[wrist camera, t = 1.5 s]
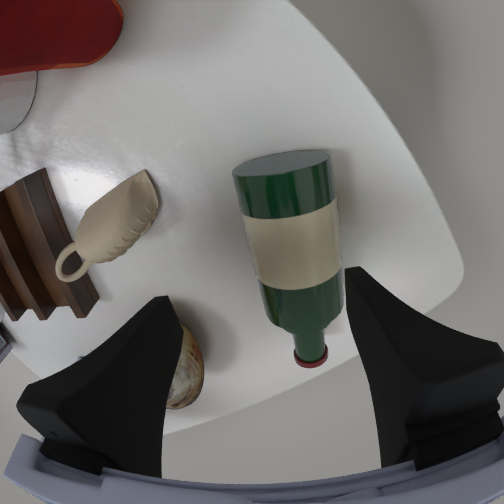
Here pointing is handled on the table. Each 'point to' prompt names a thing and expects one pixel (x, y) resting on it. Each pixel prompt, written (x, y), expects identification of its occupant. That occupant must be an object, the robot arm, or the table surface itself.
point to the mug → (15, 98)
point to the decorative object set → (2, 312)
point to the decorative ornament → (112, 224)
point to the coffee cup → (56, 33)
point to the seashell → (187, 374)
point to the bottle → (294, 244)
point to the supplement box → (4, 347)
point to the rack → (37, 253)
